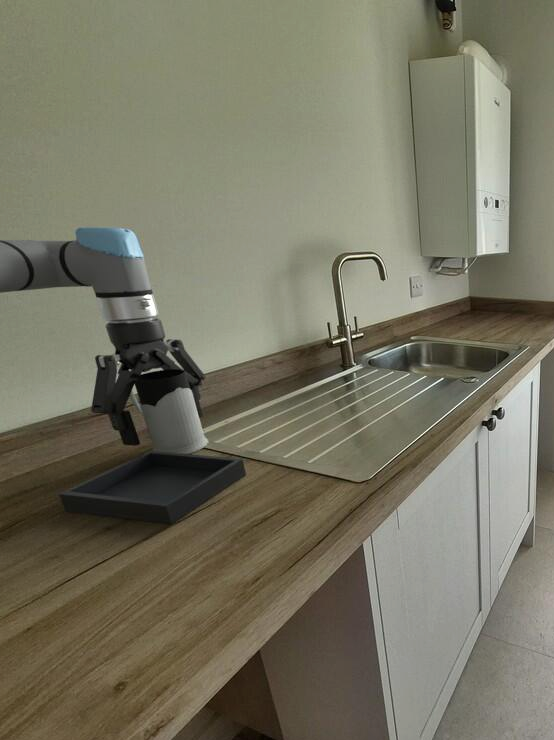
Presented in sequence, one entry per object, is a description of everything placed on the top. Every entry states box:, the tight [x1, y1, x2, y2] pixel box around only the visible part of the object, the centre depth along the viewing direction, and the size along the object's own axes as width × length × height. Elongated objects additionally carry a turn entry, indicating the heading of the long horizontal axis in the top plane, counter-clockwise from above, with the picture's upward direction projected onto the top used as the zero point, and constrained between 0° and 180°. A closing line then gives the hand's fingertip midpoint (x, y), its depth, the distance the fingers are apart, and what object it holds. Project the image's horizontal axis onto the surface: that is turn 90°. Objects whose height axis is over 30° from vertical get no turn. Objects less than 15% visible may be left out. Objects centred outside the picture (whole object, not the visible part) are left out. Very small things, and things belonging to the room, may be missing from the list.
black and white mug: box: [129, 368, 209, 454], centre depth 79 cm, size 9×14×15 cm, turn 73°
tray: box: [58, 450, 247, 525], centre depth 65 cm, size 19×14×3 cm
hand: (166, 429), depth 80 cm, fingers open, 12 cm apart
